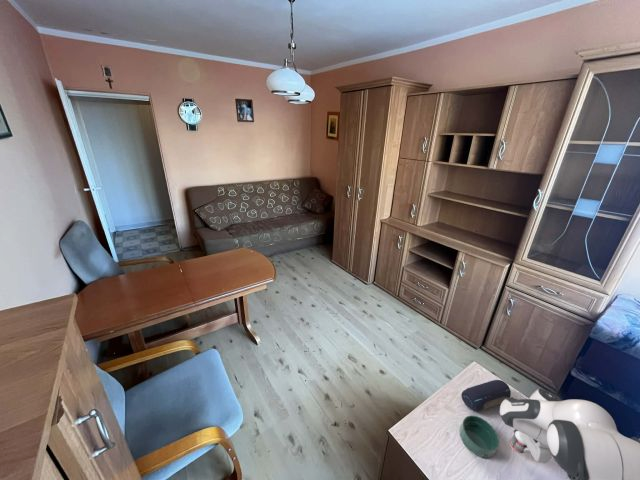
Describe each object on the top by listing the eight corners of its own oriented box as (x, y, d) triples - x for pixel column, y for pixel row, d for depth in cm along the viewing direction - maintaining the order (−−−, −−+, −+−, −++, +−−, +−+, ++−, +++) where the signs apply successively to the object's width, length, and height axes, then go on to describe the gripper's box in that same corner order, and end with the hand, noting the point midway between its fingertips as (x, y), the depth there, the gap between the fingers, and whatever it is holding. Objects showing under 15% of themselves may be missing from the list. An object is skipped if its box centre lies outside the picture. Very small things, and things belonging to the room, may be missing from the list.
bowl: (500, 460, 111) (505, 452, 109) (467, 456, 112) (471, 448, 109) (484, 424, 124) (488, 417, 121) (454, 421, 124) (457, 414, 122)
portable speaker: (471, 417, 126) (478, 404, 122) (456, 398, 135) (462, 385, 131) (510, 404, 134) (518, 391, 129) (493, 386, 142) (500, 373, 138)
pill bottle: (512, 452, 110) (521, 438, 106) (507, 438, 115) (515, 425, 111) (526, 456, 110) (536, 442, 105) (520, 442, 114) (529, 428, 110)
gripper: (510, 395, 114) (499, 415, 120) (542, 449, 96) (527, 469, 102) (525, 397, 114) (513, 416, 120) (560, 451, 95) (544, 471, 101)
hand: (520, 441), depth 111 cm, fingers closed on pill bottle, 5 cm apart
